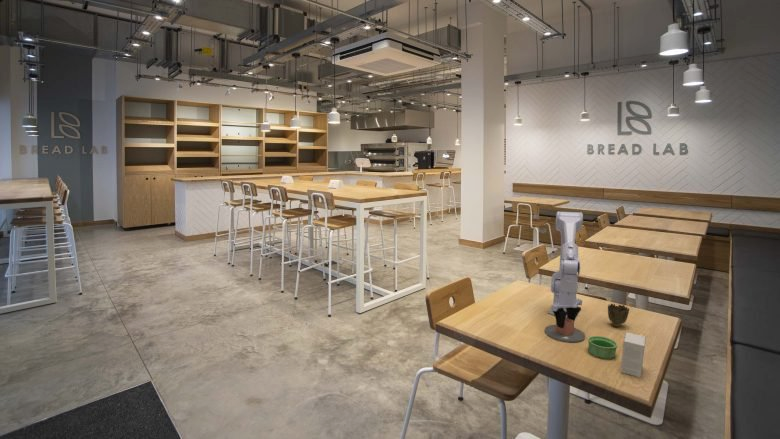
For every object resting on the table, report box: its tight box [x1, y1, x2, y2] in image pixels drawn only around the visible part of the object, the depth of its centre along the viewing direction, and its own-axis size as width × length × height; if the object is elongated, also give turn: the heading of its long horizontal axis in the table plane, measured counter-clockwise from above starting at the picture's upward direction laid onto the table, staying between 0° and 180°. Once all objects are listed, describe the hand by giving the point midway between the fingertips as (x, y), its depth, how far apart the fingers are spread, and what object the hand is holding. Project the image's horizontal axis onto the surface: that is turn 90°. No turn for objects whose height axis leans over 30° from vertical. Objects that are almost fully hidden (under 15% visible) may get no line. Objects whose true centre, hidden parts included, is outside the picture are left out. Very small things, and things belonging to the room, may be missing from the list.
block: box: [555, 317, 575, 336], centre depth 153 cm, size 4×5×5 cm
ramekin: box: [587, 335, 618, 360], centre depth 138 cm, size 9×9×4 cm
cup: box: [607, 303, 630, 328], centre depth 160 cm, size 8×7×8 cm
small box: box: [620, 332, 647, 378], centre depth 127 cm, size 8×6×10 cm
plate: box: [544, 324, 586, 344], centre depth 153 cm, size 14×14×1 cm
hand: (565, 325), depth 153 cm, fingers open, 5 cm apart
